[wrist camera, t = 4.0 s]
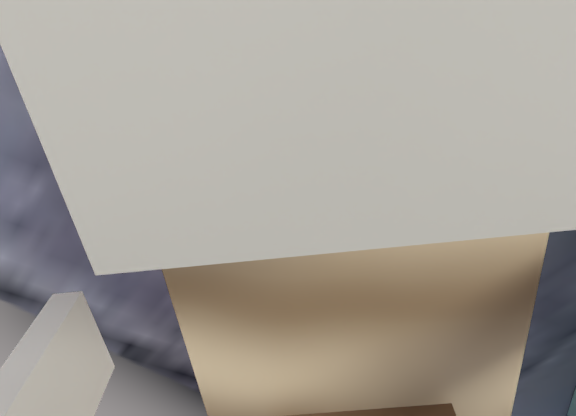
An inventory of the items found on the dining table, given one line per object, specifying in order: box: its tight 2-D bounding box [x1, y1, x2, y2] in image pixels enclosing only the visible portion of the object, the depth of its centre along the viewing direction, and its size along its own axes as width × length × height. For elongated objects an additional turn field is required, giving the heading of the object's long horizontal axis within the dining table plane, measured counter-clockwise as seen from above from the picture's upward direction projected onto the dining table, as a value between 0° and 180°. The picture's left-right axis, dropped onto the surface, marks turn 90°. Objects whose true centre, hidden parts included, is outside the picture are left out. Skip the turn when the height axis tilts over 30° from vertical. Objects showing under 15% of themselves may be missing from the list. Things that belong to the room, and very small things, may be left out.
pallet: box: [162, 232, 549, 416], centre depth 14 cm, size 30×10×8 cm, turn 6°
